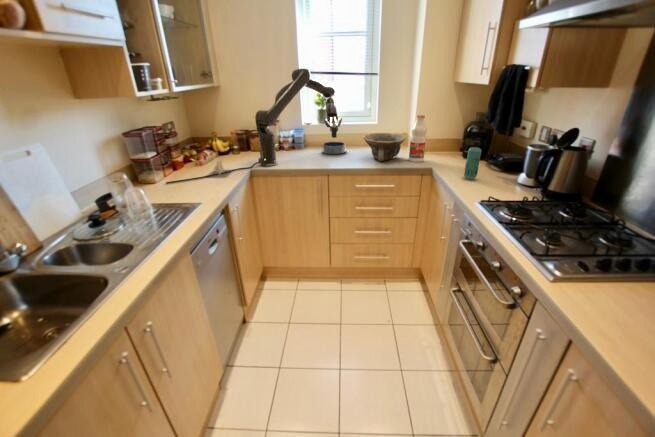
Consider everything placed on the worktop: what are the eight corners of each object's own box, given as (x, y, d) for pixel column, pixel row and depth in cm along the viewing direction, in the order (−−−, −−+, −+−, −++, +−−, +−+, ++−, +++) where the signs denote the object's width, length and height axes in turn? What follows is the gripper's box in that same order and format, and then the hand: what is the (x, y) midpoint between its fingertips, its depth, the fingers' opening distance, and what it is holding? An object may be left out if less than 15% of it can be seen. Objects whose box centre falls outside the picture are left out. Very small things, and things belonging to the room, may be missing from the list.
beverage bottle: (460, 178, 170) (466, 140, 161) (470, 176, 172) (476, 139, 164) (469, 181, 164) (476, 143, 156) (479, 179, 166) (486, 141, 158)
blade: (332, 137, 224) (332, 122, 219) (331, 136, 228) (331, 121, 223) (336, 137, 224) (336, 122, 220) (335, 136, 228) (335, 121, 224)
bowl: (394, 166, 193) (396, 141, 187) (356, 161, 206) (356, 138, 199) (409, 156, 214) (411, 134, 207) (373, 152, 226) (374, 131, 220)
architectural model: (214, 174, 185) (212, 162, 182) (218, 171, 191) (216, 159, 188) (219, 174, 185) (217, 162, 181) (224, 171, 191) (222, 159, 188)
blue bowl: (330, 156, 220) (330, 147, 218) (318, 151, 233) (318, 143, 231) (350, 152, 228) (350, 144, 225) (337, 148, 241) (337, 140, 238)
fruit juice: (425, 159, 206) (430, 114, 194) (421, 162, 199) (426, 116, 187) (411, 157, 211) (415, 114, 199) (406, 161, 203) (410, 116, 191)
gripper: (322, 108, 223) (325, 128, 218) (341, 107, 225) (345, 127, 220) (321, 114, 230) (324, 134, 225) (340, 114, 232) (343, 133, 227)
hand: (334, 131), depth 222 cm, fingers closed on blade, 3 cm apart
